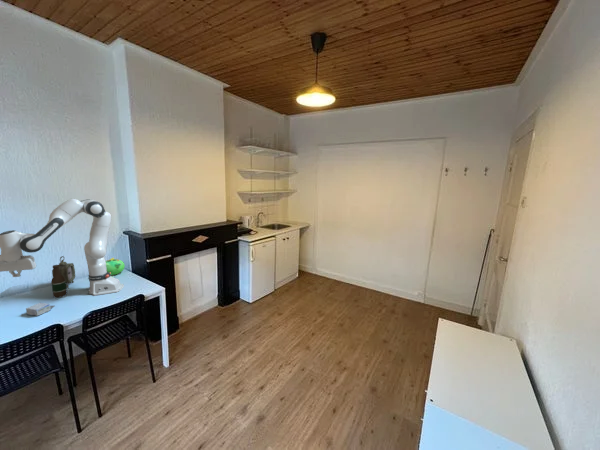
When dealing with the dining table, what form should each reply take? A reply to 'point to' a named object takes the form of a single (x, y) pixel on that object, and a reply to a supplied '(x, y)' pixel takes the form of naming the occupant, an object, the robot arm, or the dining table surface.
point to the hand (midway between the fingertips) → (16, 276)
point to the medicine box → (38, 309)
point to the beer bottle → (58, 283)
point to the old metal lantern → (66, 271)
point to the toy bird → (114, 266)
